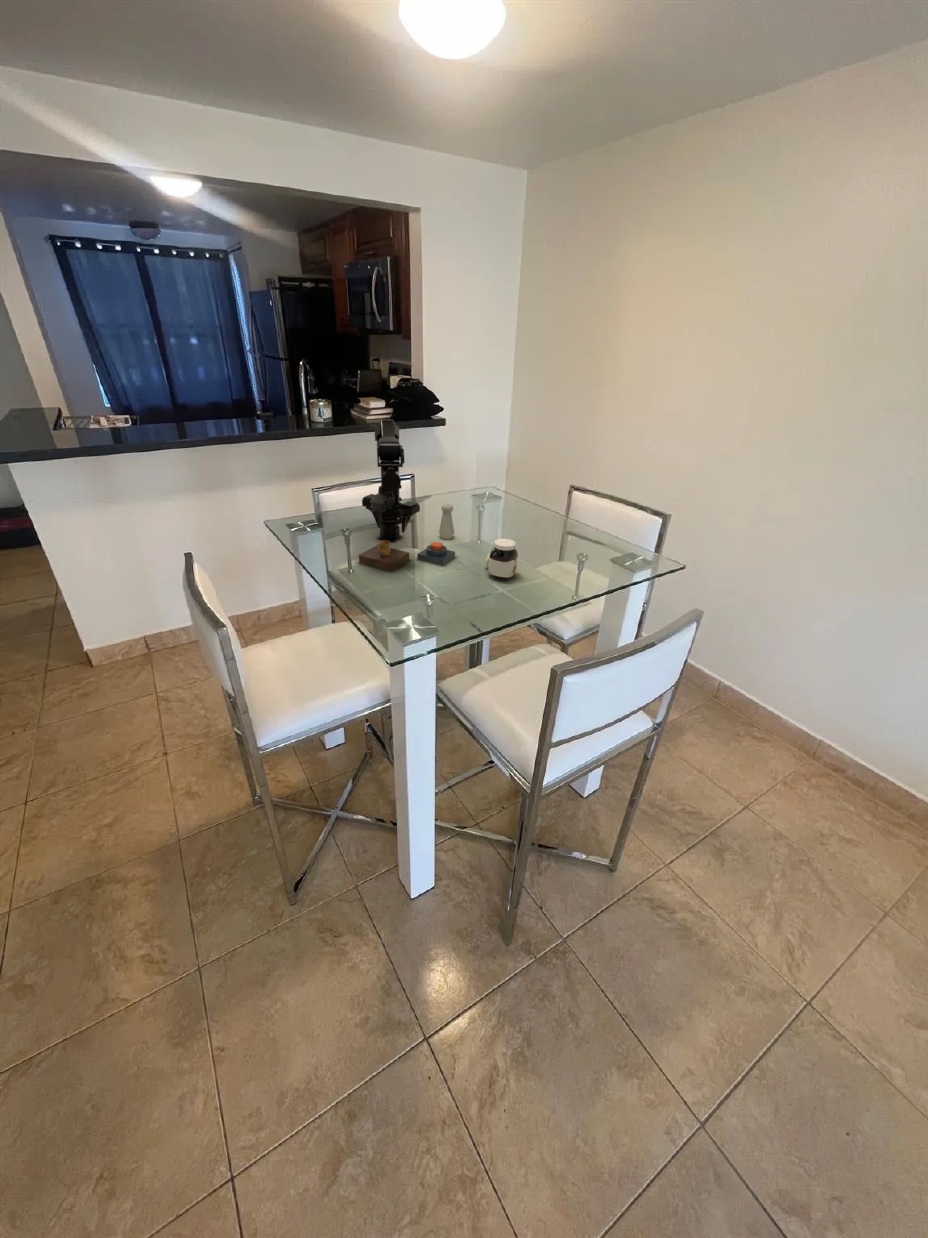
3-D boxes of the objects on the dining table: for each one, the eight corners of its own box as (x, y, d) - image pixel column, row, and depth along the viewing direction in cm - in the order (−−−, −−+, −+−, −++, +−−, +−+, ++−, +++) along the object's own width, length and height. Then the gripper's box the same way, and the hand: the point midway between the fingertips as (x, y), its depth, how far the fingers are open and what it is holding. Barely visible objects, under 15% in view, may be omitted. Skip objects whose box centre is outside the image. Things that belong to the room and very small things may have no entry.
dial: (375, 554, 171) (375, 542, 169) (382, 550, 174) (382, 538, 172) (386, 556, 169) (385, 544, 167) (392, 552, 173) (392, 540, 170)
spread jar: (505, 584, 162) (508, 550, 157) (474, 575, 167) (476, 541, 162) (521, 571, 171) (525, 539, 166) (492, 563, 176) (495, 531, 171)
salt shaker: (451, 541, 193) (453, 507, 187) (437, 539, 194) (438, 506, 188) (455, 536, 198) (456, 503, 192) (440, 534, 199) (441, 501, 193)
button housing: (417, 559, 176) (417, 549, 174) (430, 551, 183) (430, 541, 181) (442, 566, 172) (443, 555, 171) (454, 557, 180) (455, 546, 178)
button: (428, 549, 175) (428, 544, 174) (434, 545, 178) (434, 541, 178) (438, 551, 174) (439, 547, 173) (444, 548, 177) (444, 543, 176)
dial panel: (359, 563, 171) (358, 554, 170) (377, 552, 180) (377, 544, 178) (391, 571, 166) (391, 562, 165) (409, 560, 175) (409, 551, 174)
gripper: (350, 483, 158) (353, 531, 165) (402, 493, 151) (403, 542, 159) (370, 476, 167) (372, 522, 174) (420, 484, 160) (420, 532, 168)
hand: (391, 529), depth 169 cm, fingers open, 9 cm apart
